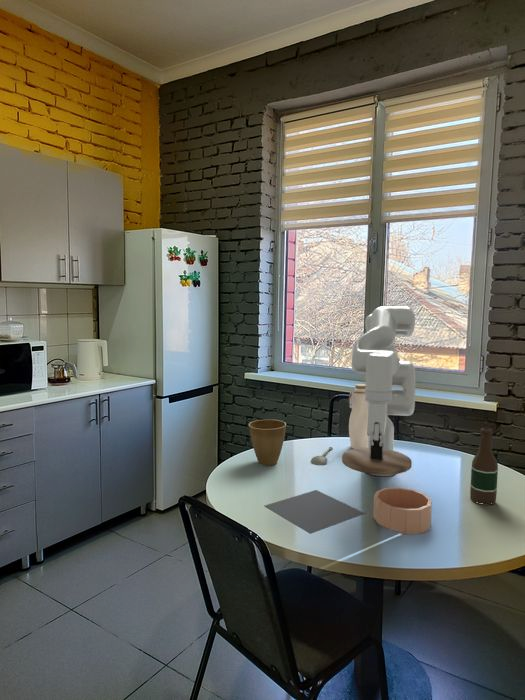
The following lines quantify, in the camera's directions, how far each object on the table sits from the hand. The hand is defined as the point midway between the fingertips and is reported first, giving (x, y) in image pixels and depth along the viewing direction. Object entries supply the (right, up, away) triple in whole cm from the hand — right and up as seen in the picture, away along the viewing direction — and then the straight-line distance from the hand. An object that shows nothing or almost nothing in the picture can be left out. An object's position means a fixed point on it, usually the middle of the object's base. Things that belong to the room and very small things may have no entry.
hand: (376, 456), depth 142 cm
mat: (-18, -19, +6) cm, 27 cm away
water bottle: (+9, -12, +71) cm, 72 cm away
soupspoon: (-8, -14, +58) cm, 60 cm away
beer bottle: (+38, -18, +15) cm, 45 cm away
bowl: (+8, -19, 0) cm, 21 cm away
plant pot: (-32, -14, +50) cm, 61 cm away
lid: (0, -2, 0) cm, 2 cm away
